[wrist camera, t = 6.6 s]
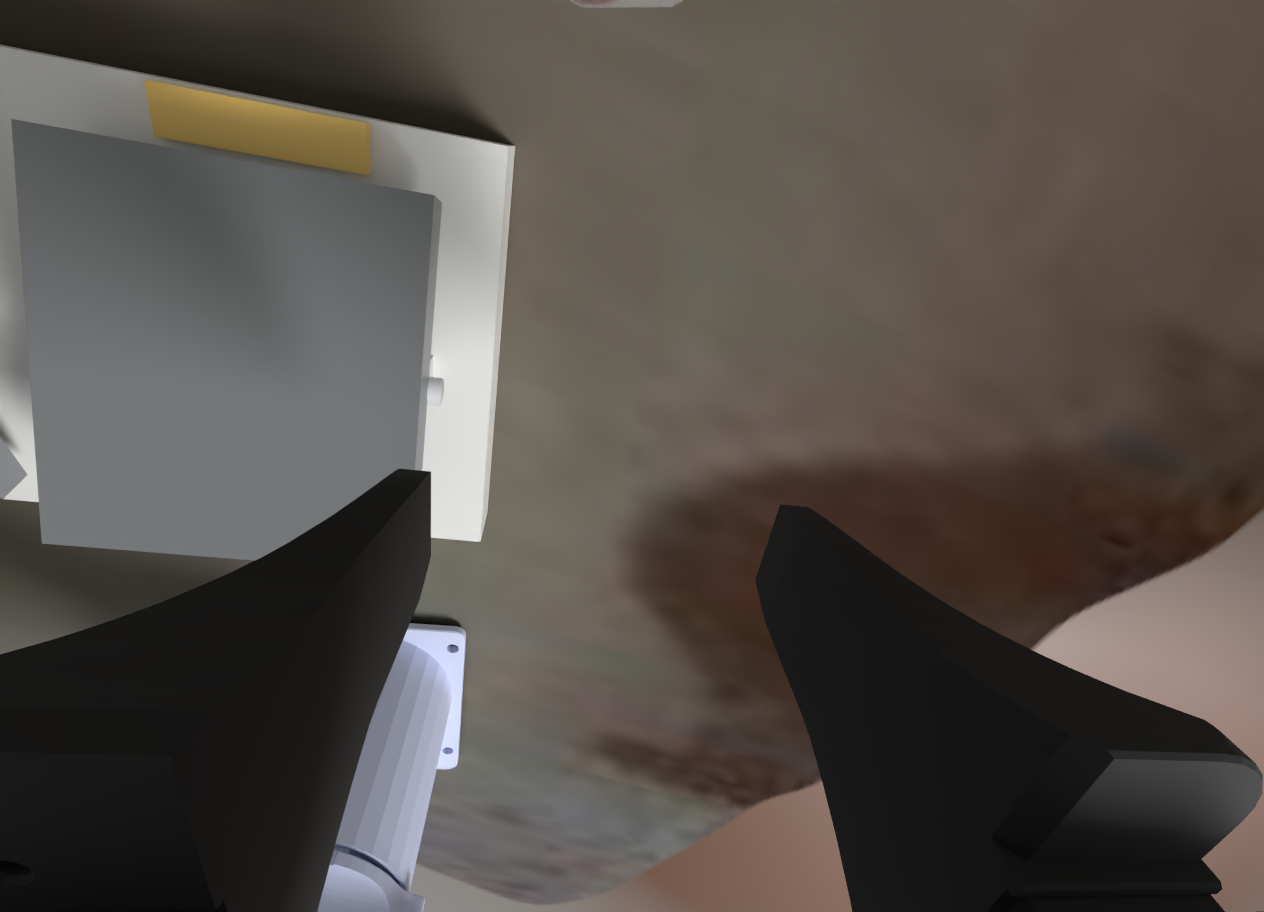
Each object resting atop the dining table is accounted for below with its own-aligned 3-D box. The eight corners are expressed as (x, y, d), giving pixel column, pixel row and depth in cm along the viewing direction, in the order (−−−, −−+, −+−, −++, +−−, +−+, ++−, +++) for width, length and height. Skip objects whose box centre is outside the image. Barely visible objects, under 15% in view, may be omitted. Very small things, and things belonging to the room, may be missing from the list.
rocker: (431, 550, 18) (418, 573, 16) (80, 520, 16) (28, 542, 15) (458, 209, 16) (447, 197, 14) (59, 139, 14) (-6, 116, 13)
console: (487, 511, 23) (475, 562, 20) (-251, 439, 19) (-392, 489, 16) (515, 146, 17) (503, 146, 14) (-544, -63, 13) (-844, -119, 10)
